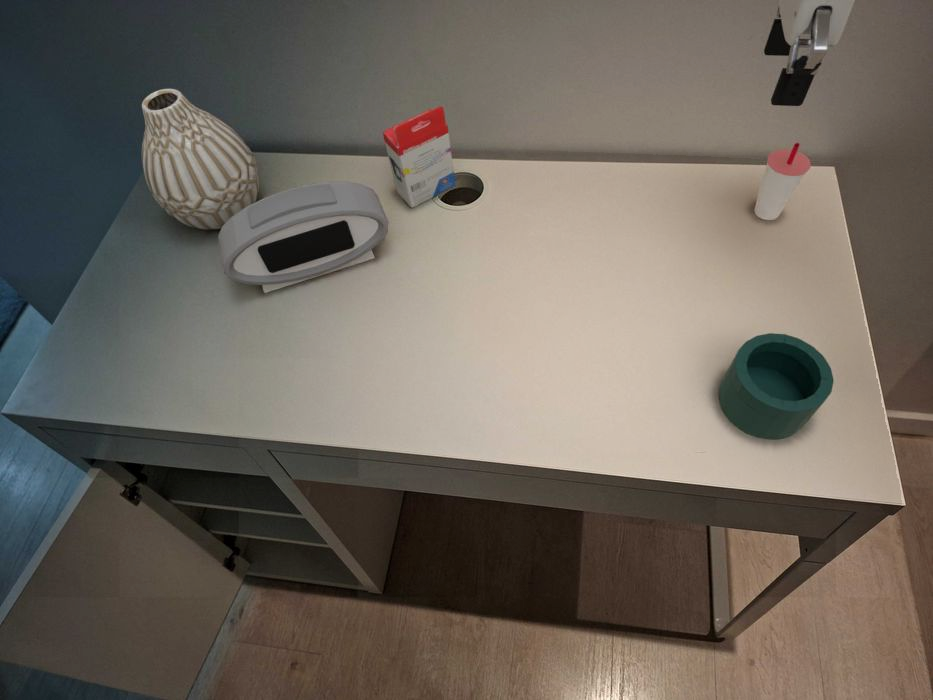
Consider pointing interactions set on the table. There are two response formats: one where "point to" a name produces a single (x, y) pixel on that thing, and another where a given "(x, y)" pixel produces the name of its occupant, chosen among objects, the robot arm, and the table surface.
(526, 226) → the table surface
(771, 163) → the cup
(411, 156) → the ink box
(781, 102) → the robot arm
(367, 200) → the alarm clock
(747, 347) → the teal pot
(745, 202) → the table surface
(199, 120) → the vase
